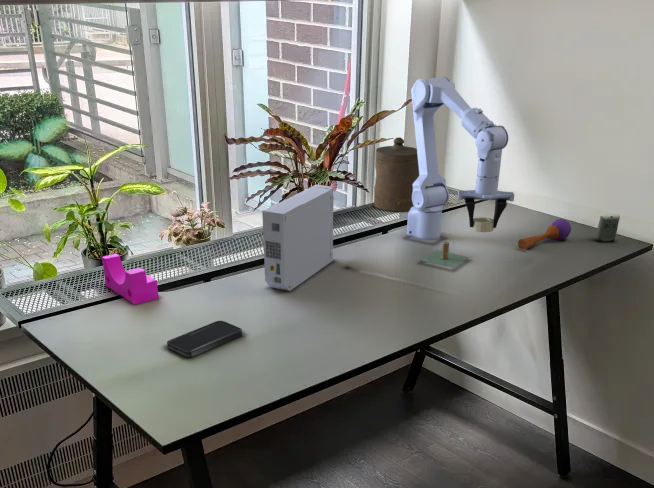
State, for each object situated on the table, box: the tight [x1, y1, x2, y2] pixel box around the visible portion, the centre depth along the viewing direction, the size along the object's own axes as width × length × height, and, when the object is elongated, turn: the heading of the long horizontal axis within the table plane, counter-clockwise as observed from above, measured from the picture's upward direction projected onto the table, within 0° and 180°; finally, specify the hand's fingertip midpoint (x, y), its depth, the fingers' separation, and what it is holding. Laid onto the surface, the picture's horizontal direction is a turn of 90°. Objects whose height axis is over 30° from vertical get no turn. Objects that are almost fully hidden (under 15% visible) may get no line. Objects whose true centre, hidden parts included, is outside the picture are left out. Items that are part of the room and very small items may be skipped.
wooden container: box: [373, 136, 419, 212], centre depth 241 cm, size 15×15×22 cm
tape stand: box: [420, 241, 470, 269], centre depth 198 cm, size 10×10×6 cm
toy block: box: [101, 253, 160, 305], centre depth 175 cm, size 15×6×8 cm, turn 41°
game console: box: [261, 184, 334, 292], centre depth 184 cm, size 6×27×20 cm, turn 155°
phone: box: [166, 320, 243, 358], centre depth 154 cm, size 8×1×15 cm
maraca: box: [517, 218, 572, 251], centre depth 213 cm, size 6×6×20 cm
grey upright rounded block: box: [596, 213, 621, 243], centre depth 215 cm, size 6×5×8 cm
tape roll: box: [471, 216, 494, 233], centre depth 196 cm, size 6×6×2 cm
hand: (482, 226), depth 196 cm, fingers closed on tape roll, 5 cm apart
